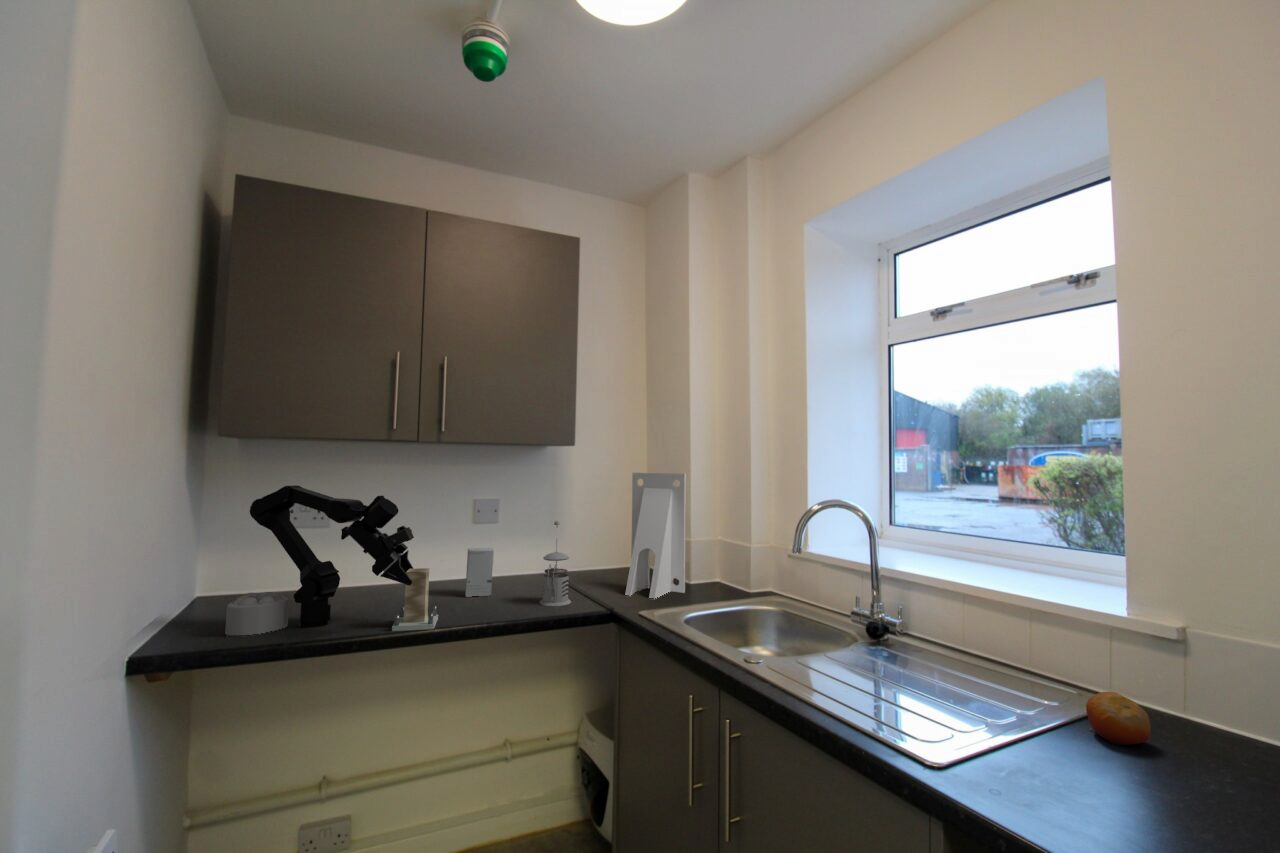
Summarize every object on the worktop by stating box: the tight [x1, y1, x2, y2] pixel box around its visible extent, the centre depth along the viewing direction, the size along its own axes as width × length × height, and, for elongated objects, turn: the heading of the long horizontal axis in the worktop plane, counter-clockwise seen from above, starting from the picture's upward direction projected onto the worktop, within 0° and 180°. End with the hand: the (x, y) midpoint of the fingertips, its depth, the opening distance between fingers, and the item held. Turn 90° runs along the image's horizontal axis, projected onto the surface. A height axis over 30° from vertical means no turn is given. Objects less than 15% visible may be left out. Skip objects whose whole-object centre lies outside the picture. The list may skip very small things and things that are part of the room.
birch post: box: [404, 567, 430, 623], centre depth 153 cm, size 5×5×13 cm
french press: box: [539, 520, 572, 607], centre depth 179 cm, size 10×12×25 cm
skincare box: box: [464, 547, 495, 598], centre depth 188 cm, size 8×6×15 cm
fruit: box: [1085, 691, 1152, 746], centre depth 93 cm, size 8×8×8 cm
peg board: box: [391, 604, 439, 632], centre depth 153 cm, size 10×10×4 cm
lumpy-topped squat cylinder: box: [224, 591, 290, 636], centre depth 147 cm, size 10×13×9 cm
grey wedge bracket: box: [624, 472, 687, 600], centre depth 194 cm, size 20×14×40 cm
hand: (413, 580), depth 153 cm, fingers open, 9 cm apart
